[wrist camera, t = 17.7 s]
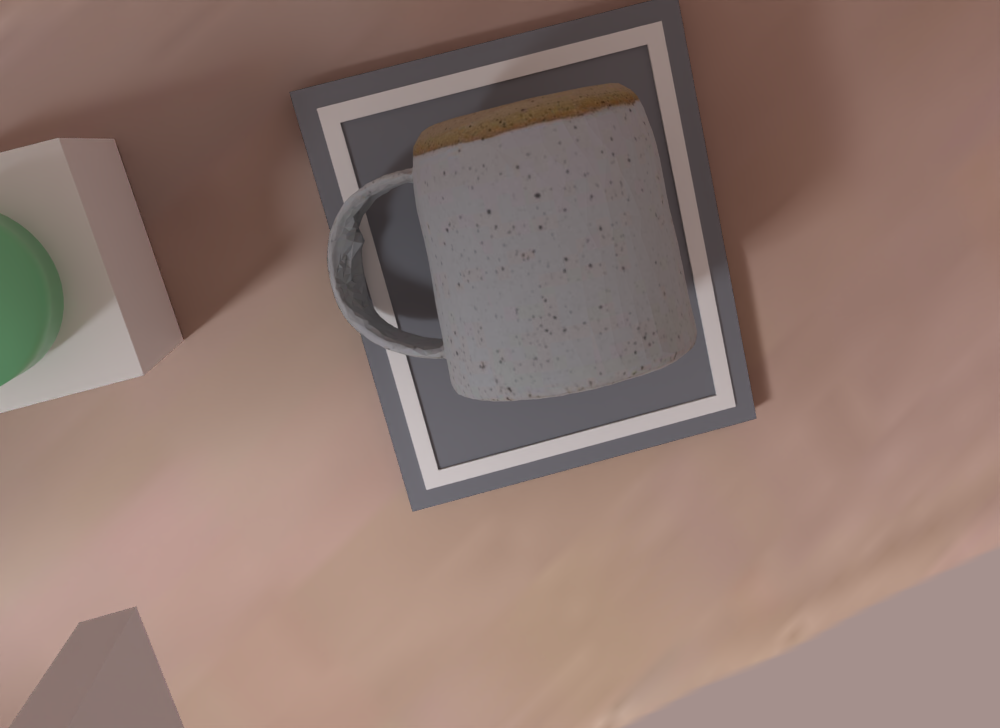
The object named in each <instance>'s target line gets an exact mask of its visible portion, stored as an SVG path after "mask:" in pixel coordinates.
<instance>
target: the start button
mask: <svg viewBox="0 0 1000 728" xmlns="http://www.w3.org/2000/svg"><path fill="white" fill-rule="evenodd" d="M63 311H64V296H63V290H62V284H61V281H60V277H59V274H58V271H57V269H56V267H55V265H54V262H53V261H52V259H51V257H50V256H49V254H48V252H47V251H46V250H45V248H44V247H43V246H42V244H41V243H40V242H39V241H38V240H37V239H36V238H35V237H34V236H33V235H32V234H31V233H30V232H29V231H28V230H27V229H25V228H24V227H23V226H21V225H20V224H19V223H17V222H15V221H14V220H12V219H11V218H9V217H7V216H5V215H3V214H1V213H0V386H2V385H4V384H5V383H7V382H9V381H10V380H12V379H14V378H15V377H17V376H19V375H20V374H22V373H24V372H25V371H27V370H28V369H30V368H31V367H33V366H34V365H35V364H36V363H37V362H39V361H40V360H41V359H42V358H43V357H44V356H45V354H46V353H47V352H48V351H49V349H50V348H51V346H52V345H53V343H54V341H55V339H56V337H57V335H58V333H59V330H60V327H61V323H62V319H63Z"/></svg>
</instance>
